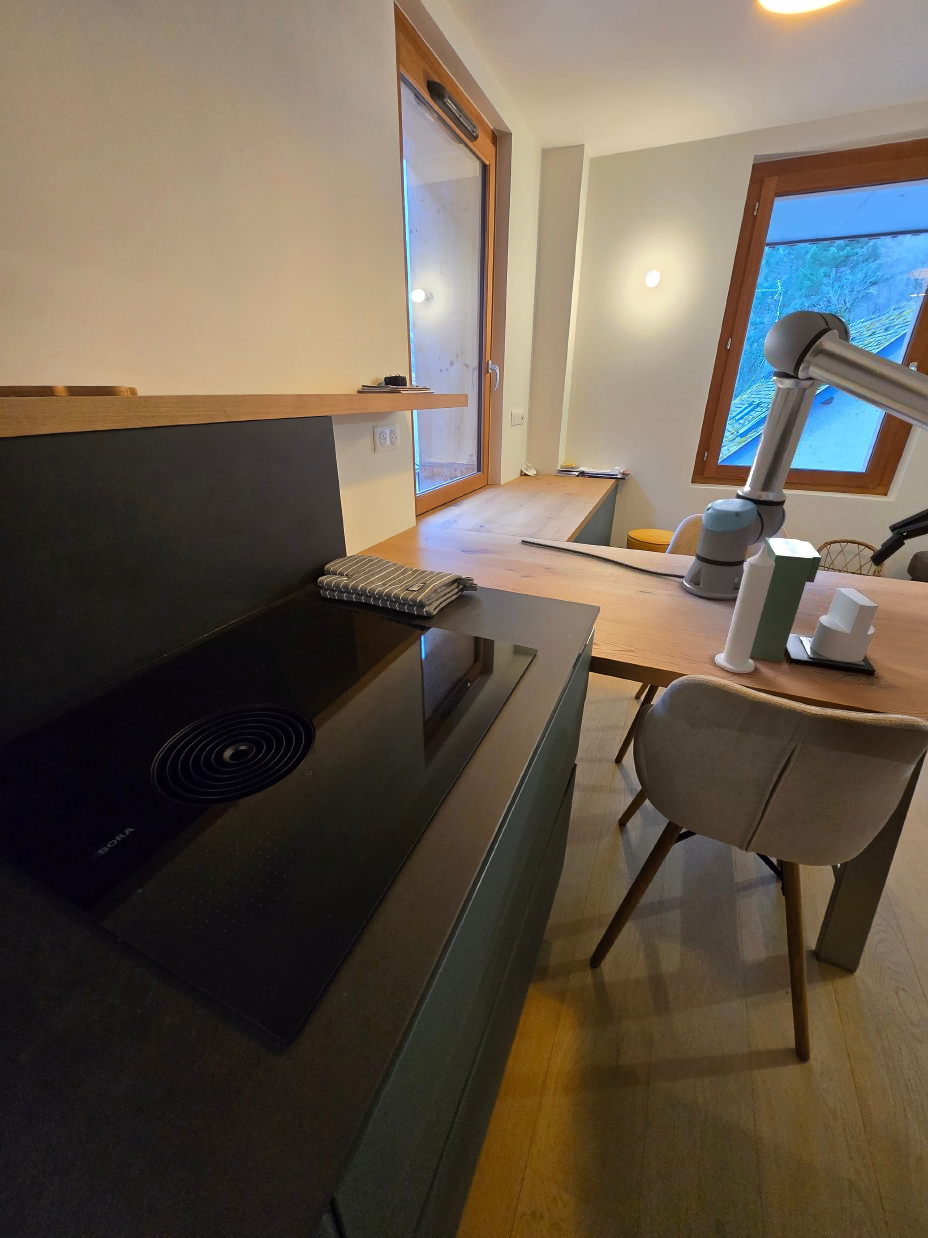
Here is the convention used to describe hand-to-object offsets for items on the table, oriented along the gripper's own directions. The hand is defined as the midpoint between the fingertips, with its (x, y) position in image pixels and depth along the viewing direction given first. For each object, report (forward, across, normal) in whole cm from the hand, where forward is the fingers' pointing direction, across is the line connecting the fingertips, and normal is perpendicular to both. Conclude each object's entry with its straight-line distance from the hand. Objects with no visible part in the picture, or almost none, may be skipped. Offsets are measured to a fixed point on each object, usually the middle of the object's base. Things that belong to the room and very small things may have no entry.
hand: (905, 573), depth 95 cm
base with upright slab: (+18, 0, -5) cm, 19 cm away
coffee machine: (+22, +3, -2) cm, 23 cm away
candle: (+35, +1, +10) cm, 36 cm away
